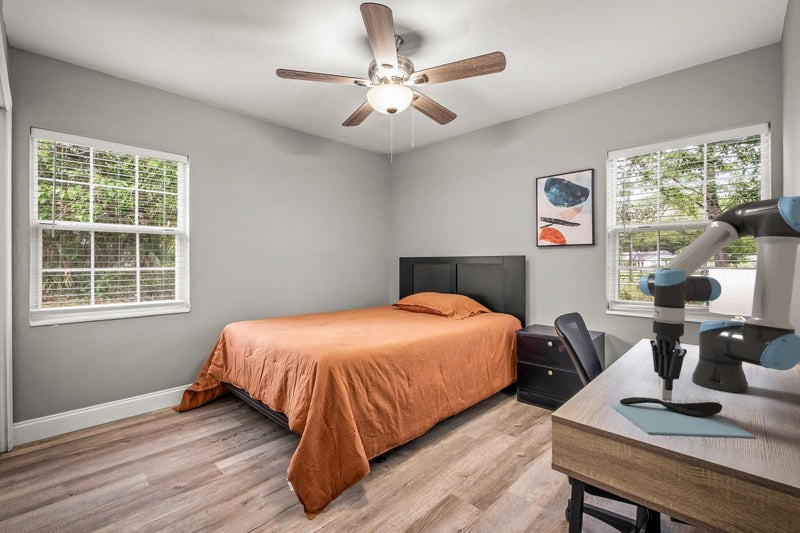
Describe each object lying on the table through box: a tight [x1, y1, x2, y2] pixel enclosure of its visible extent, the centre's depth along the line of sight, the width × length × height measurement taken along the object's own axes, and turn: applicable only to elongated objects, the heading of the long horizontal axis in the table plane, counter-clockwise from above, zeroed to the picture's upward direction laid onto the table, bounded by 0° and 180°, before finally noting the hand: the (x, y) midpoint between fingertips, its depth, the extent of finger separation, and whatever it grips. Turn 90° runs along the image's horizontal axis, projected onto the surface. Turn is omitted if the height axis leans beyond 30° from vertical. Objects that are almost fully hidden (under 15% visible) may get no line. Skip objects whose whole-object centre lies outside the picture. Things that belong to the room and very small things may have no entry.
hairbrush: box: [619, 396, 723, 417], centre depth 108 cm, size 8×4×25 cm
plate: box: [606, 402, 756, 439], centre depth 103 cm, size 26×20×1 cm
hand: (665, 399), depth 112 cm, fingers closed
